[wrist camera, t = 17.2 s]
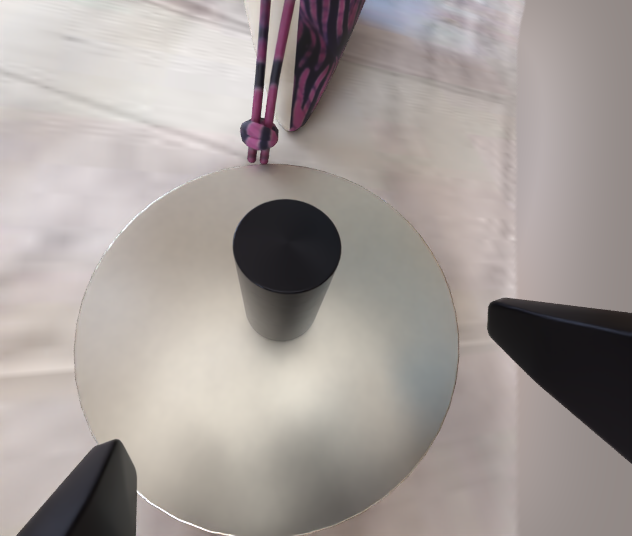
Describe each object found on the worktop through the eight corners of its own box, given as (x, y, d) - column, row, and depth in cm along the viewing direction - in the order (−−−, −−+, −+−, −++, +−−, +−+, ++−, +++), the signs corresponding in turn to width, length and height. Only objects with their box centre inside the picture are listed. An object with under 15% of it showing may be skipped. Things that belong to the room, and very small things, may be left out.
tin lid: (428, 584, 11) (600, 756, 5) (-2, 458, 11) (-296, 496, 5) (455, 226, 17) (544, 131, 12) (188, 147, 17) (150, 15, 12)
